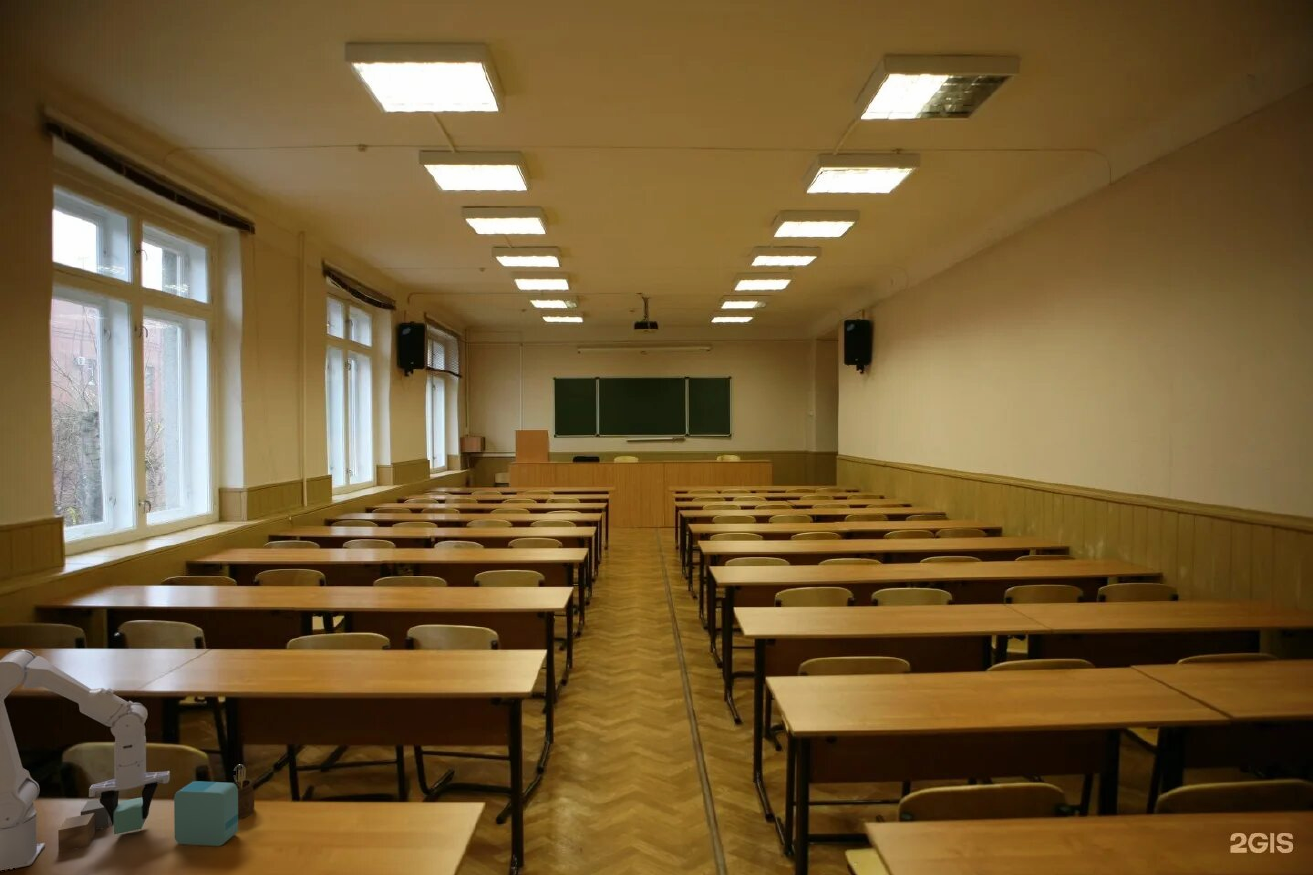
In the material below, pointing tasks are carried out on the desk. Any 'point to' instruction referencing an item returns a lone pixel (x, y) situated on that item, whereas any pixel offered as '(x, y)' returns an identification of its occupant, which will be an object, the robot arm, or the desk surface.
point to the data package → (206, 813)
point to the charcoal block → (97, 814)
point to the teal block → (128, 816)
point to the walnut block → (76, 832)
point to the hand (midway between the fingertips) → (130, 819)
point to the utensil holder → (244, 794)
